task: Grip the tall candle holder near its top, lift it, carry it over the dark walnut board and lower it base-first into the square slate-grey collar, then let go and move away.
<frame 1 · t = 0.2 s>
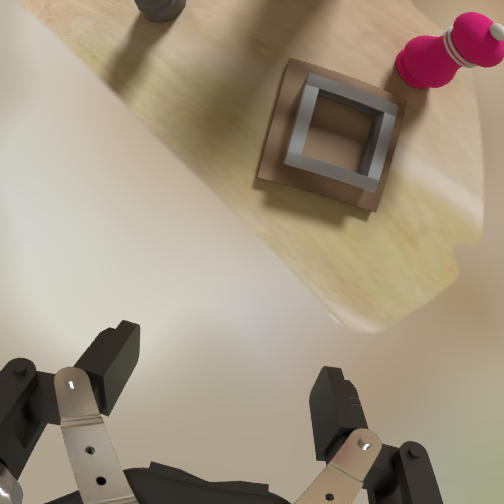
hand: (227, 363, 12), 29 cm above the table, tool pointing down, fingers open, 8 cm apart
candle holder: (165, 5, 31), on the table
socket board: (334, 134, 36), on the table
pepper mill: (414, 68, 32), on the table
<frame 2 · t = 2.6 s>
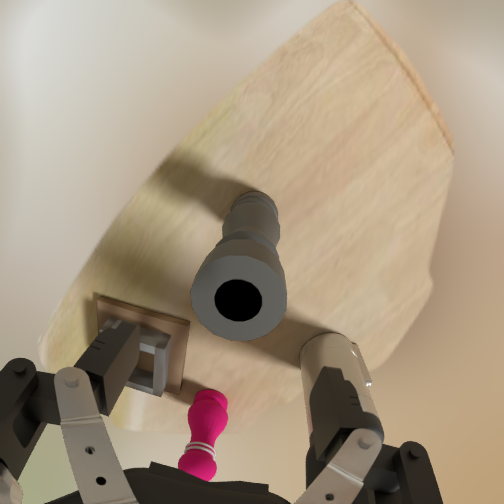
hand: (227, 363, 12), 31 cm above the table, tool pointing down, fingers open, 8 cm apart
candle holder: (254, 213, 41), on the table
socket board: (141, 346, 50), on the table
pepper mill: (211, 399, 53), on the table
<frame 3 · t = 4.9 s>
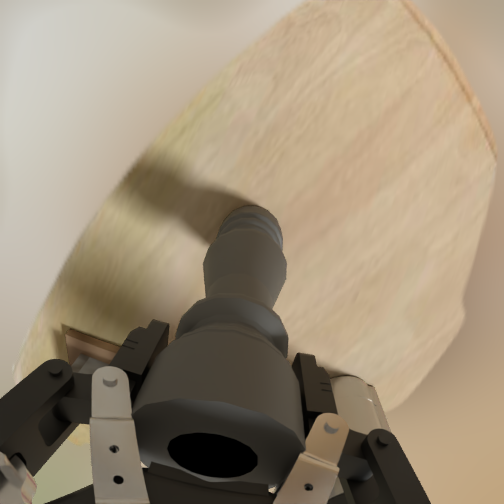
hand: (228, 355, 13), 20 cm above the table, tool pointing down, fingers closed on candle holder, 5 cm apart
candle holder: (251, 234, 32), on the table, touching gripper
socket board: (120, 385, 40), on the table
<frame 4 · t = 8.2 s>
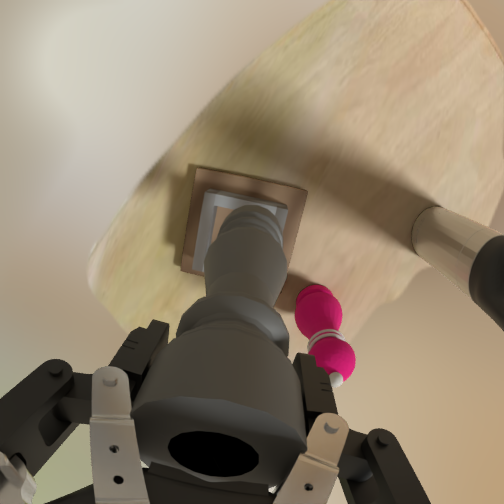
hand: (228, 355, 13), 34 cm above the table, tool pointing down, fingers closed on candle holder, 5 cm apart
candle holder: (251, 233, 32), point 14 cm above the table, touching gripper
socket board: (241, 230, 46), on the table
pepper mill: (314, 301, 49), on the table
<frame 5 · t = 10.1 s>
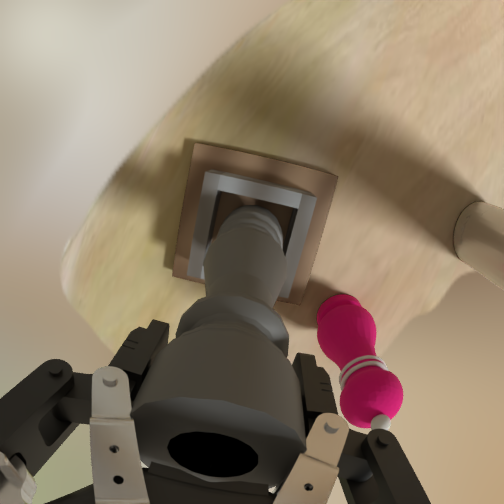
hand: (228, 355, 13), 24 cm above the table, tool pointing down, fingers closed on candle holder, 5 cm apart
candle holder: (251, 234, 32), point 4 cm above the table, touching gripper
socket board: (251, 225, 36), on the table
pepper mill: (339, 313, 39), on the table
when the fingers open (22 cm above the table, at t = 11.7 s): candle holder stays where it is, resting on socket board.
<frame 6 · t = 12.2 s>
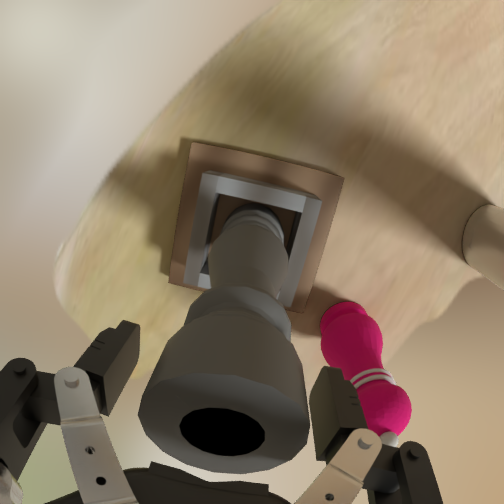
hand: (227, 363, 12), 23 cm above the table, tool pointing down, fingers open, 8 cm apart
candle holder: (253, 231, 32), point 1 cm above the table, touching socket board
socket board: (251, 229, 34), on the table
pepper mill: (343, 321, 37), on the table
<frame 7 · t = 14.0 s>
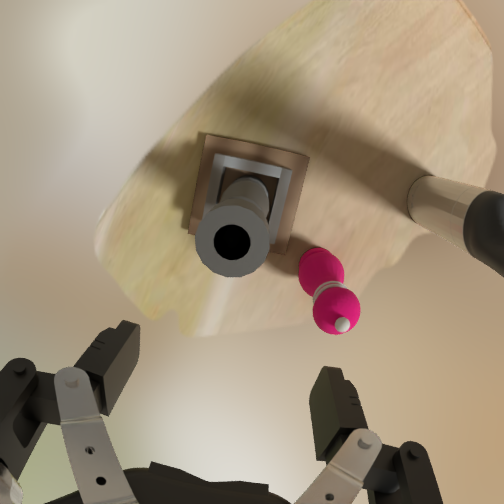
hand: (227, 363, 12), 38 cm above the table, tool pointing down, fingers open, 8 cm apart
candle holder: (248, 194, 47), point 1 cm above the table, touching socket board
socket board: (247, 194, 48), on the table
pepper mill: (316, 264, 52), on the table
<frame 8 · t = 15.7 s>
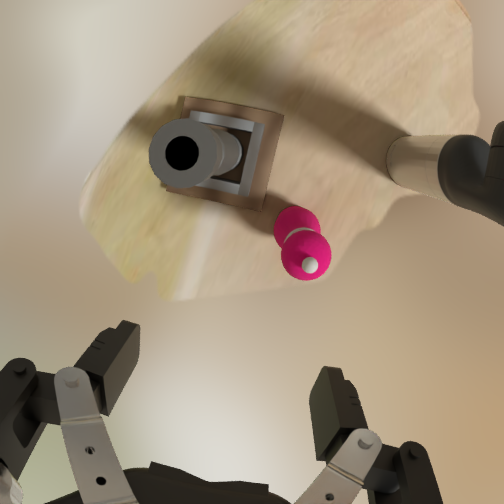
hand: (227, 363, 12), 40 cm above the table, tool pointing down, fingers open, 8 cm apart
candle holder: (224, 152, 47), point 1 cm above the table, touching socket board
socket board: (224, 152, 48), on the table
pepper mill: (294, 223, 51), on the table
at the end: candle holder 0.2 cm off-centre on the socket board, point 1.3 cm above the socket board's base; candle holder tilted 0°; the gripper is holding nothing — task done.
